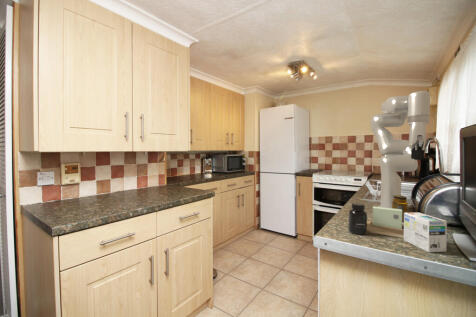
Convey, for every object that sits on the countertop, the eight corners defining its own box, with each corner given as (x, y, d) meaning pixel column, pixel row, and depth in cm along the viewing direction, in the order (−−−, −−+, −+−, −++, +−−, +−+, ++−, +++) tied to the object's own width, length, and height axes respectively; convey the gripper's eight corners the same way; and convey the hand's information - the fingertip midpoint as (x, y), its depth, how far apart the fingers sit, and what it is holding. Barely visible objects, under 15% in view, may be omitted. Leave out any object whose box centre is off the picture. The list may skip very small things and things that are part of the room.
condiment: (410, 221, 107) (411, 196, 106) (403, 224, 102) (403, 198, 101) (393, 217, 113) (394, 194, 112) (385, 220, 108) (386, 196, 108)
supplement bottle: (360, 236, 88) (360, 206, 88) (344, 231, 94) (345, 203, 94) (370, 233, 91) (371, 204, 91) (355, 228, 97) (355, 201, 97)
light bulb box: (447, 252, 74) (448, 220, 74) (428, 253, 74) (429, 221, 74) (418, 239, 85) (419, 211, 85) (402, 240, 85) (403, 212, 84)
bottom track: (367, 226, 99) (367, 220, 99) (406, 232, 92) (406, 225, 92) (366, 231, 93) (366, 224, 93) (408, 238, 86) (408, 231, 86)
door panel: (372, 226, 96) (372, 206, 96) (400, 231, 91) (401, 209, 91) (372, 229, 94) (372, 207, 93) (401, 233, 88) (402, 211, 88)
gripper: (405, 123, 107) (404, 158, 107) (409, 119, 92) (408, 160, 93) (425, 121, 103) (424, 158, 103) (433, 117, 88) (432, 160, 89)
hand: (417, 159), depth 98 cm, fingers open, 9 cm apart
